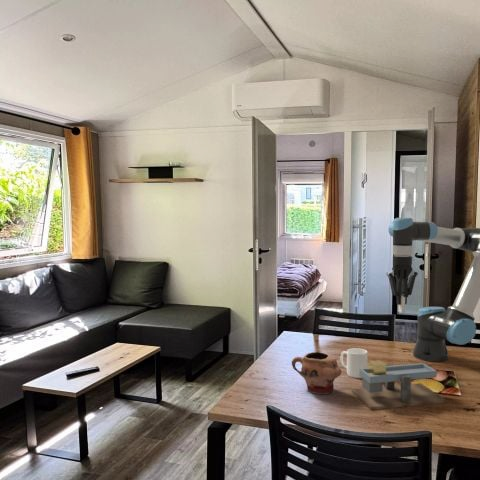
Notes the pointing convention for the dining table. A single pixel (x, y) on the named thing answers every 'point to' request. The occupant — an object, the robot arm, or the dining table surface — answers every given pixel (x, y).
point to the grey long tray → (395, 375)
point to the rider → (377, 368)
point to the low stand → (398, 395)
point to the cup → (354, 361)
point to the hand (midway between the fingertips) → (401, 312)
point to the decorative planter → (318, 371)
